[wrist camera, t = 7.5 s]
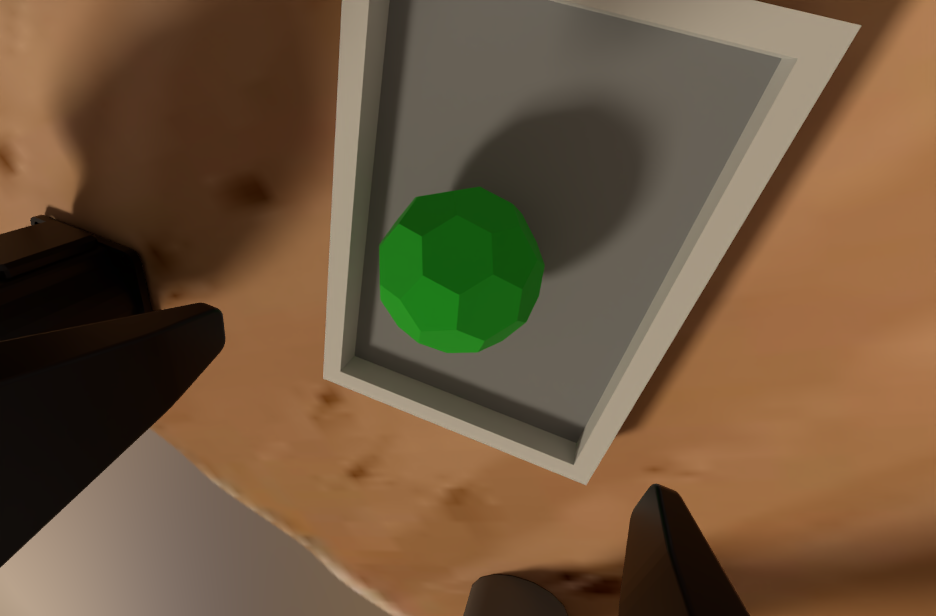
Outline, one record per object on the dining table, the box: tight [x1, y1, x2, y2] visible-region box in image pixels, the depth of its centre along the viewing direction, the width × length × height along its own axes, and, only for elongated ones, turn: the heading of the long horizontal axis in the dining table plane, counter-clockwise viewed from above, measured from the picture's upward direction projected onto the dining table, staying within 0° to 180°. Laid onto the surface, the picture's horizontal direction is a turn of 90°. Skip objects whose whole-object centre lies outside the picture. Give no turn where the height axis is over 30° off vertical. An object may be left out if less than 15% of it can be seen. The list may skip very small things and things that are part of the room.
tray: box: [323, 0, 862, 485], centre depth 15 cm, size 16×12×2 cm
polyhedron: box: [379, 187, 545, 353], centre depth 13 cm, size 5×5×5 cm
